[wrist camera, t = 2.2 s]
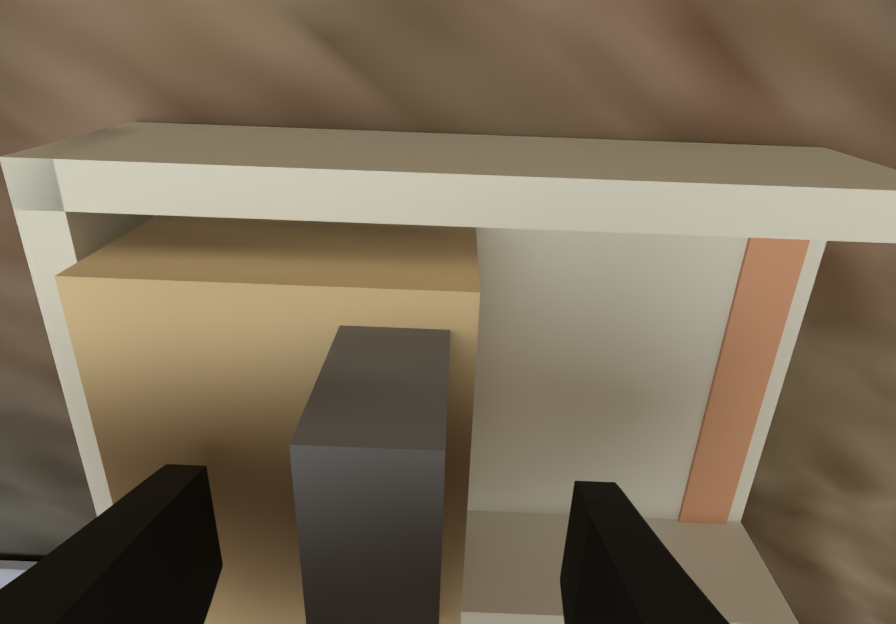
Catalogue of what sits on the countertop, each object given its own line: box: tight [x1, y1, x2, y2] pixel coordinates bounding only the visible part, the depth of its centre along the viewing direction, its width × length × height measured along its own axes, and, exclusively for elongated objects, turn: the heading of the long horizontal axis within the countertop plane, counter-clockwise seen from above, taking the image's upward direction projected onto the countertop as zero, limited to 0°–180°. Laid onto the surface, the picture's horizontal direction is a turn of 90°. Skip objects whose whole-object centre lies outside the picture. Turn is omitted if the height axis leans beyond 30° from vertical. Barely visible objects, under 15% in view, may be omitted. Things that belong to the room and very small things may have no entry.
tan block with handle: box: [55, 215, 480, 624], centre depth 11 cm, size 7×6×7 cm
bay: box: [0, 122, 896, 624], centre depth 13 cm, size 10×14×4 cm
